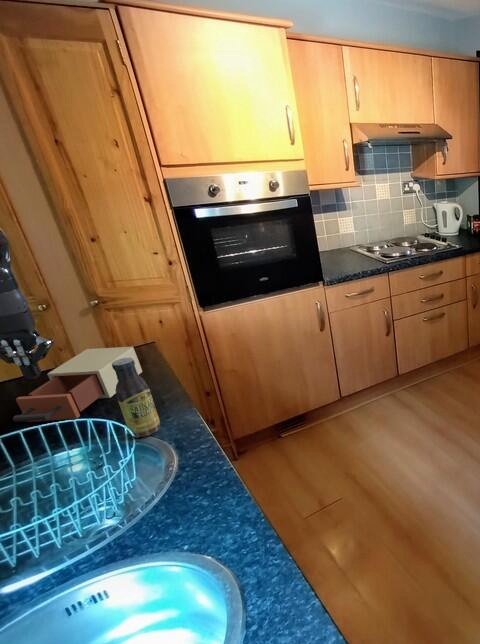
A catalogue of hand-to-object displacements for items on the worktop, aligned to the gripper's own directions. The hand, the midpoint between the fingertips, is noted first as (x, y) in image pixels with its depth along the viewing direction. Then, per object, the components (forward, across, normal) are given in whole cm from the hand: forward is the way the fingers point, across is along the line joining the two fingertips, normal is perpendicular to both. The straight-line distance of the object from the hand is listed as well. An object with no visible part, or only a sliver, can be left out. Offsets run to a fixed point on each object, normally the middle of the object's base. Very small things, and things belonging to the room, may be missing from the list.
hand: (33, 377), depth 108 cm
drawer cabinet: (+15, -3, +22) cm, 27 cm away
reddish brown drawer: (+14, -3, +8) cm, 16 cm away
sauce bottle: (+15, +23, -3) cm, 28 cm away
